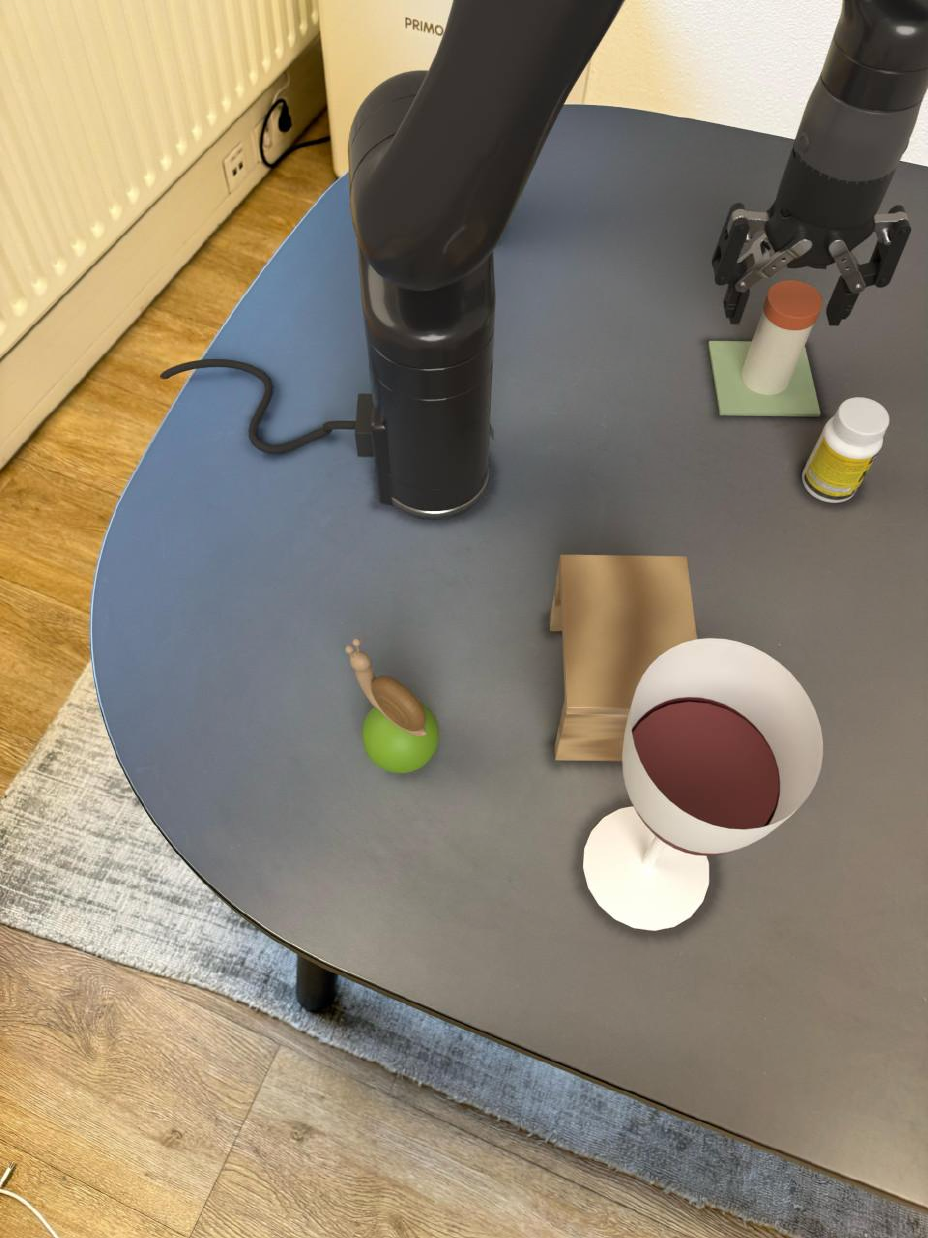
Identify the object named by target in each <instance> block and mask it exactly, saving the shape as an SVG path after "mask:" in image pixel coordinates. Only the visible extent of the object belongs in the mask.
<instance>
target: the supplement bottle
mask: <svg viewBox="0 0 928 1238" xmlns="http://www.w3.org/2000/svg"><path fill="white" fill-rule="evenodd" d="M889 425H890V415H889V412H888V411H887V410H886V408H885V407H884V406H883V405H882V404H880V403H879V402H878V401H876V400H874V399H872V398H867V397H862V396H857V397H855V396H854V397H851V398H847V399H845V400H844V401H843V402H842V403H840V405H839V407H838V409H837V410H836V412H835V414H834V415H833V416H832V417H831V418H829V419H828V421H827V422H826V423H825V425H824V426H823V429H822V430H821V433H820V434H819V437H818V439H817V441H816V443H815V445H814V446H813V449H812V451H811V453H810V455H809V458H808V459H807V462H806V464H805V465H804V468H803V470H802V473H801V481H802V484H803V487H804V488H805V490H806V491H807V492H808V493H809V494H810V495H811V496H812V497H814V498H815V499H817V500H819V501H822V502H825V503H832V504H835V503H836V504H837V503H843V502H846V501H848V500H850V499H851V498H853V496H854V495H855V494H856V492H857V491H858V489H859V488H860V486H861V484H862V482H863V481H864V479H865V478H866V475H867V474H868V472H869V470H870V469H871V467H872V465H873V463H874V462H875V460H876V458H877V456H878V454H879V453H880V451H881V449H882V447H883V443H884V436H885V434H886V431H887V429H888V427H889Z"/></svg>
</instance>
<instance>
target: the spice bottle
mask: <svg viewBox="0 0 928 1238" xmlns="http://www.w3.org/2000/svg"><path fill="white" fill-rule="evenodd" d="M764 299H765V300H764V302H763V305H762V311H761V314H760V316H759V317H760V318H759V320H758V322H757V326H756V328H755V332H754V334H753V337H752V340H751V341H752V343H751V346H750V349H749V351H748V354H747V357H746V360H745V363H744V366H743V369H742V372H741V377H742V381H743V382H744V384H745V385H746V386H747V387H748V388H749V389H750V390H752V391H754V392H756V393H759V394H762V395H775V394H779V393H781V392H783V391H784V390H785V389H786V388H787V387H788V385H789V382H790V380H791V378H792V375H793V373H794V370H795V368H796V366H797V363H798V361H799V358H800V356H801V353H802V351H803V349H804V346H805V347H806V343H807V341H808V339H809V337H810V335H811V332H812V329H813V327H814V324H815V323H817V320H818V318H819V315H820V313H821V311H822V308H823V297H822V295H821V294H820V292H819V291H818V290H817V289H816V288H815V287H814V286H812V285H810V284H808V283H806V282H803V281H801V280H793V279H789V280H781V281H779V282H775V283H774V284H773V285H771V287H770V288H769V289H768V291H767V293H766V296H765V298H764Z"/></svg>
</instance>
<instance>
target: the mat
mask: <svg viewBox="0 0 928 1238" xmlns="http://www.w3.org/2000/svg"><path fill="white" fill-rule="evenodd" d="M751 343H752V340H750V341H749V340H748V341H747V340H745V341H744V340H709V341H708V344H707V345H708V351H709V357H710V363H711V370H712V377H713V381H714V388H715V395H716V400H717V407H718V414H719V416H745V417H746V416H747V417H748V416H751V417H810V418H811V417H813V418H814V417H817V418H818V417H820V416H821V410H820V405H819V401H818V398H817V392H816V388H815V387H816V386H815V384H814V380H813V375H812V371H811V365H810V362H809V358H808V357H809V356H808V354H807V349H806V345H805V346H804V349H803V351H802V353H801V356H800V358H799V361H798V363H797V366H796V368H795V370H794V373H793V375H792V378H791V380H790V382H789V385H788V387H787V388H786V389H785V390H784V391H783V392H781V393H779V394H775V395H762V394H759V393H756V392H754V391H752V390H750V389H749V388H748V387H747V386H746V385H745V384H744V382H743V381H742V377H741V372H742V369H743V366H744V363H745V360H746V357H747V354H748V351H749V349H750V346H751Z"/></svg>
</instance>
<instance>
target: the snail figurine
mask: <svg viewBox="0 0 928 1238" xmlns="http://www.w3.org/2000/svg"><path fill="white" fill-rule="evenodd" d="M361 644H362V641H361V639H360V638H358V637H355V638H354V639H353V640H352V644H351V645H350V644H349V645H347V646H346V647H345V653H346V654H349V664H350V666H351V668H352V669H353V670H354V674H355V678H356V680H357V682H358V684H359V686H360V688H361V690H362V691H363V693H364V694H365V696H366V698H367V699H368V701H369V702H370V704H371V705H372V706H373V707H372V708H371V709H370V711H369V712H368V713H367V715H366V717H365V719H364V722H363V726H362V728H361V741H362V746H363V748H364V751H365V752H366V755H367V757H368V758H369V760H370V761H371V762H372V763H373V764H375V765H376V766H377V767H378V768H380V769H382V770H383V771H386V772H389V773H393V774H408V773H412V772H415V771H417V770H419V769H420V768H422V767H424V766H425V765H426V764H427V763H429V762H430V760H431V759H432V757H433V756H434V755H435V753H436V750H437V748H438V745H439V740H440V729H439V724H438V720H437V718H436V716H435V714H434V713H433V712H432V710H431V708H430V707H428V705H426V703H424V702H422V701H420V700H419V699H418V697H416V695H415V694H414V693H413V692H412V691H411V689H409V687H407V686H406V685H405V684H404V683H402V682H401V681H399V680H398V679H397V678H394V677H393V676H390V675H386V674H384V675H379V676H377V675H376V673H375V671H374V669H373V667H372V666H371V658H370V656H369V655H368V653H367V652H365V651H362V650H360V649H359V646H361ZM354 647H356V650H355V651H354Z"/></svg>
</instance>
